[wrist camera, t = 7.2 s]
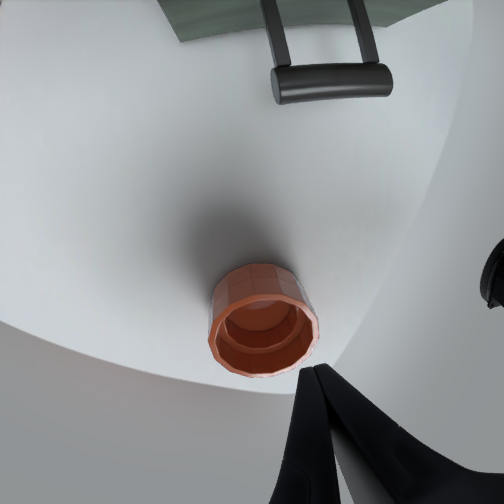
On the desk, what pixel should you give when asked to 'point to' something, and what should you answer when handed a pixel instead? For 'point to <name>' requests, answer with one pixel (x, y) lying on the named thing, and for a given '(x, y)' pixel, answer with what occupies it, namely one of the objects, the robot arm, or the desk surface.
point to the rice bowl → (261, 321)
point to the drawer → (302, 13)
